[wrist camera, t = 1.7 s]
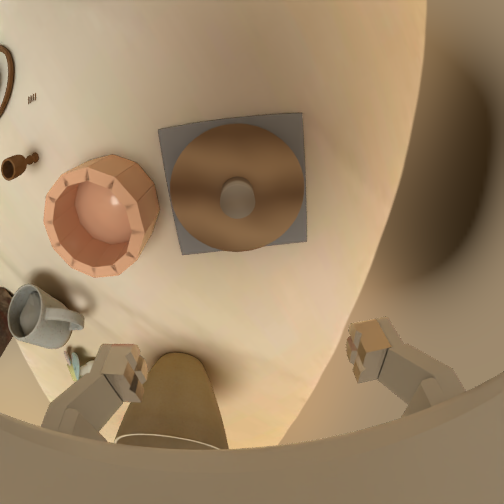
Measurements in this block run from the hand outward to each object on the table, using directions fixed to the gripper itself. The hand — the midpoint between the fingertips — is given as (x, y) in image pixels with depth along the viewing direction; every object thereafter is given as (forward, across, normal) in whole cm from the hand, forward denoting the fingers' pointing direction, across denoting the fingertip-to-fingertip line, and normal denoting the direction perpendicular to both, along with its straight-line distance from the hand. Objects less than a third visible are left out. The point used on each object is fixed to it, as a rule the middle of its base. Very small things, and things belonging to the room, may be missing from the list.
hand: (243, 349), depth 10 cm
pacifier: (+23, +31, +25) cm, 46 cm away
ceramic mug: (+22, +27, +12) cm, 37 cm away
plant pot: (+22, +12, +27) cm, 37 cm away
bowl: (+21, +14, 0) cm, 26 cm away
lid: (+21, 0, 0) cm, 21 cm away
